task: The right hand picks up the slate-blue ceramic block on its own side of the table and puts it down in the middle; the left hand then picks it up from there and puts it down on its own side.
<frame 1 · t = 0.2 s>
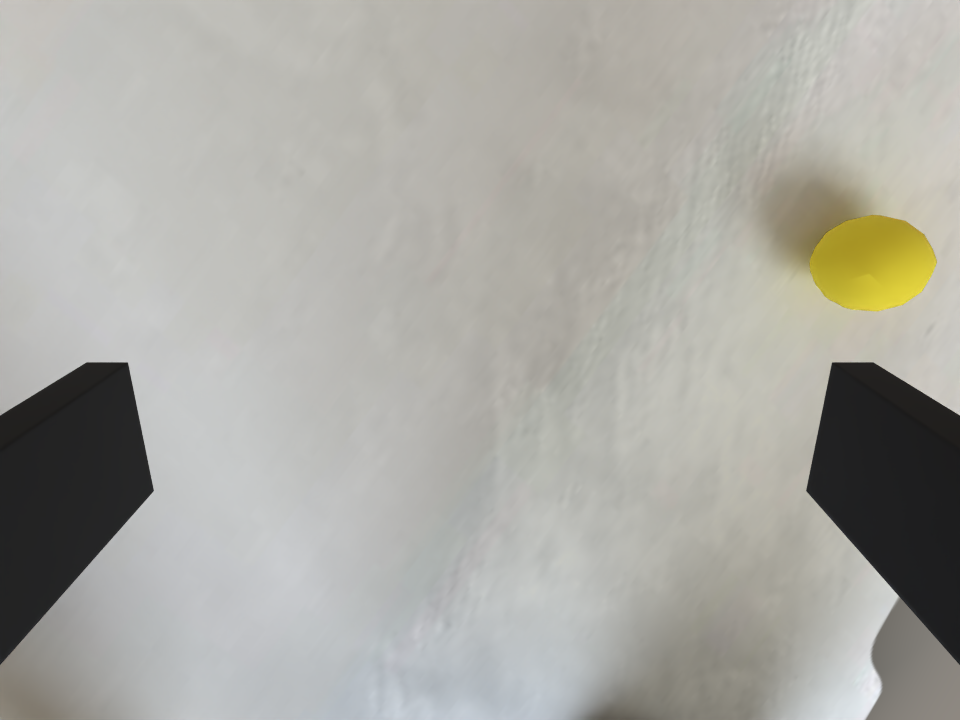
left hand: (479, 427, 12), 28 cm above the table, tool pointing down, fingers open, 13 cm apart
lemon: (845, 253, 39), on the table
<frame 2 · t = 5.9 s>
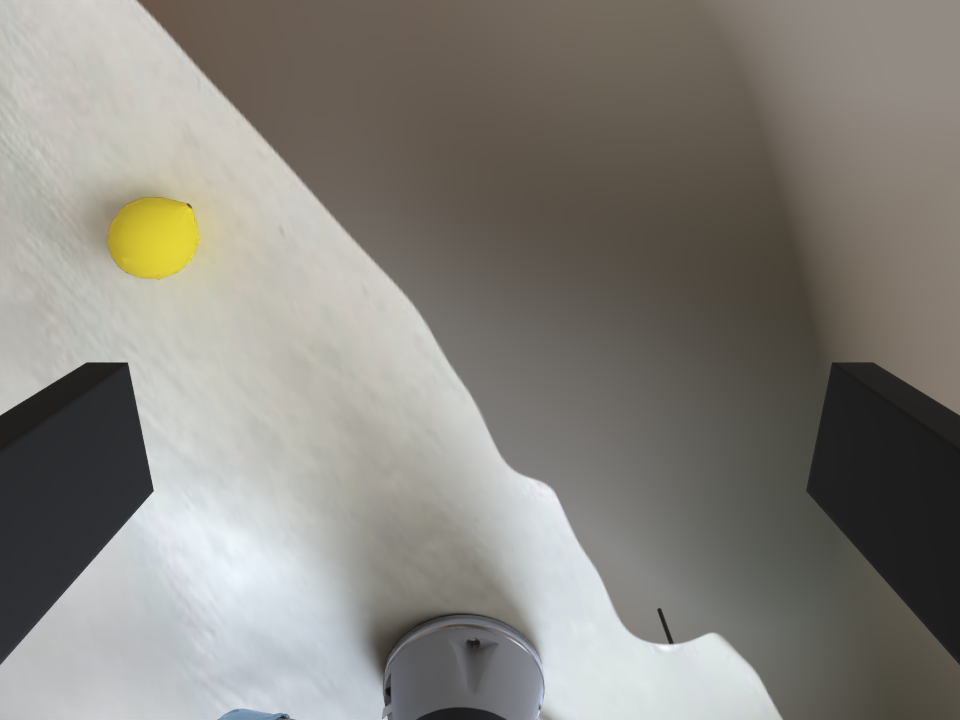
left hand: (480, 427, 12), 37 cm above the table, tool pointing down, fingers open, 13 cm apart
lemon: (173, 230, 48), on the table
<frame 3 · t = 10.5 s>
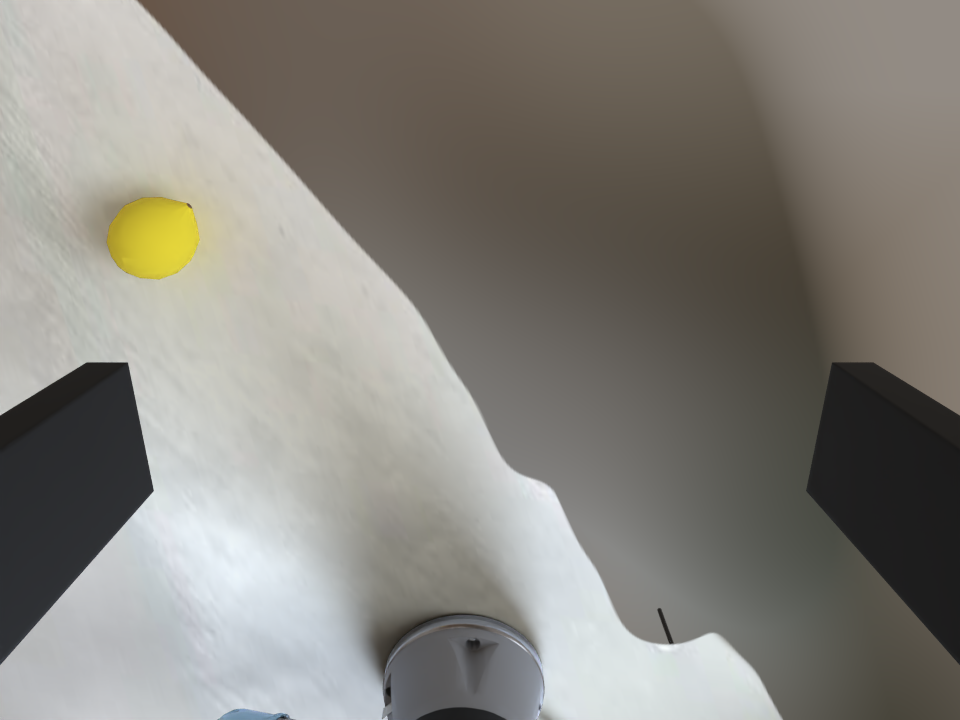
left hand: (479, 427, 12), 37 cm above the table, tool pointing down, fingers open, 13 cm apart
lemon: (173, 230, 48), on the table
when the right hand's fingers open (2 cm above the table, at t = 15.0 s): block stays where it is, on the table.
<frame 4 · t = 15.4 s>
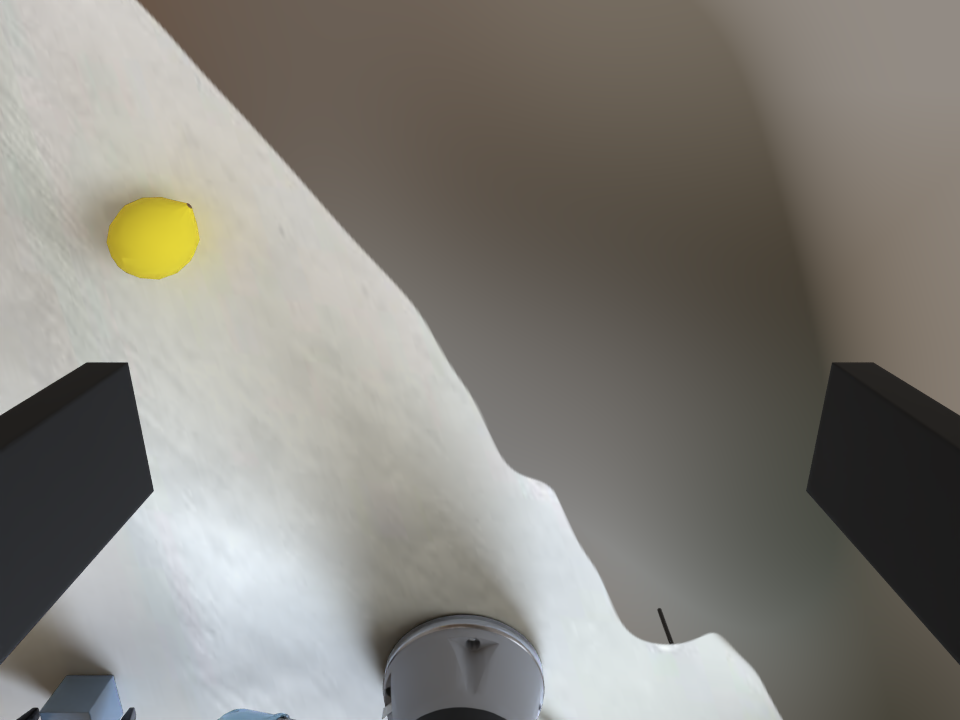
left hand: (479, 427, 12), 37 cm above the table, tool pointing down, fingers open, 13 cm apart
block: (95, 694, 64), on the table
lemon: (173, 230, 48), on the table
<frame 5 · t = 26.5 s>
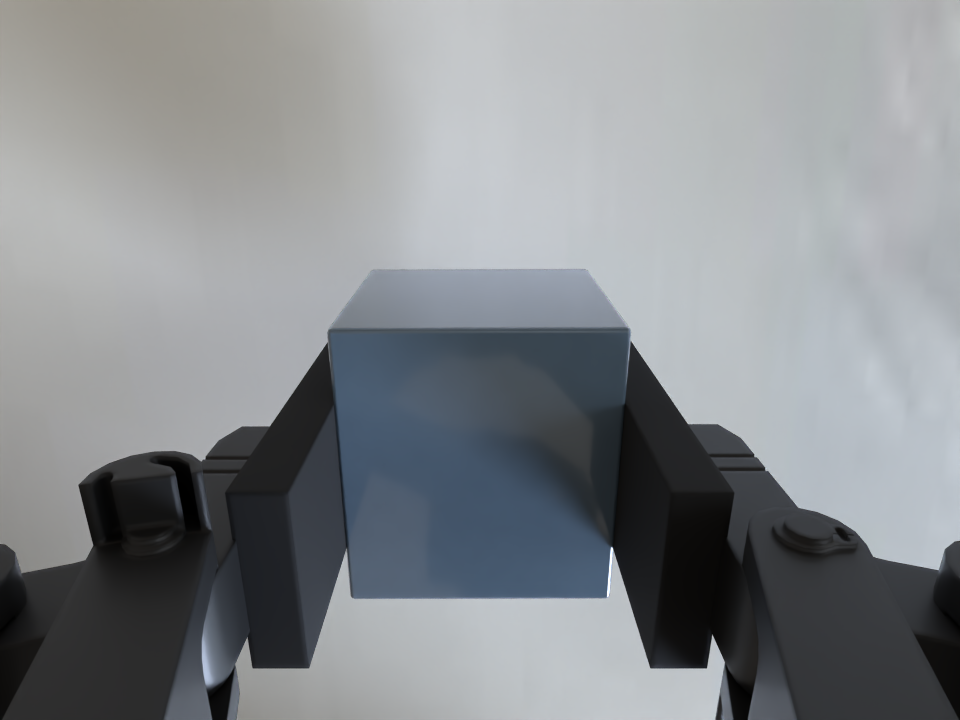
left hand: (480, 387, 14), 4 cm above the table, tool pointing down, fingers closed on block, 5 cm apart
block: (479, 378, 14), point 4 cm above the table, touching left hand
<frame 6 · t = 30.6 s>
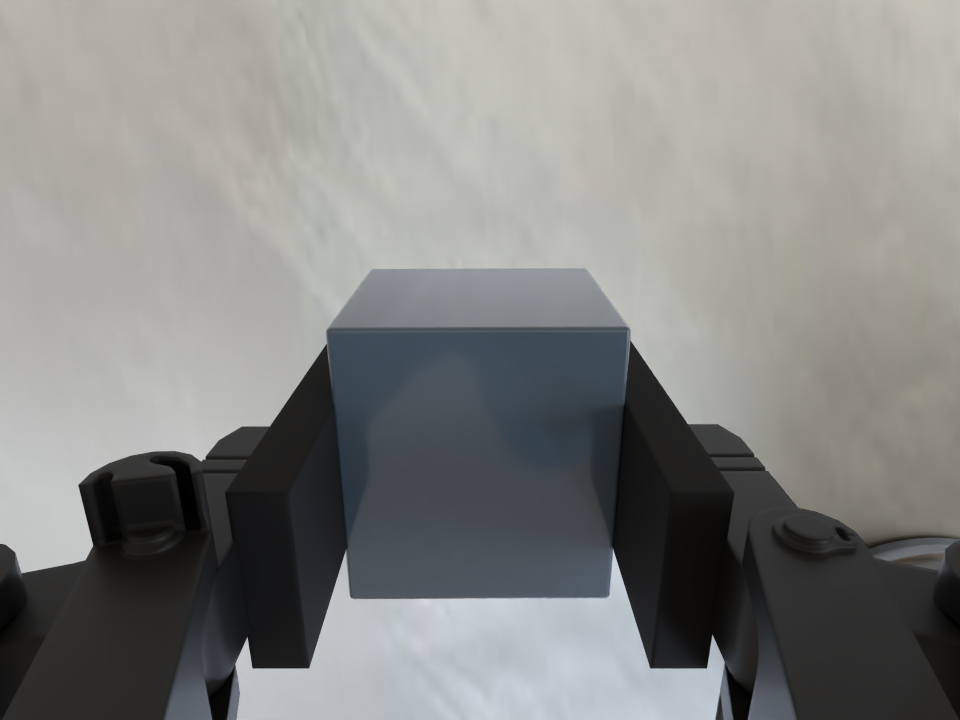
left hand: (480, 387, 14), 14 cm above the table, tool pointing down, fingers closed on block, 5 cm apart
block: (479, 378, 14), point 13 cm above the table, touching left hand
when the left hand's fingers open (0 cm above the table, at t = 34.7 s): block stays where it is, on the table.
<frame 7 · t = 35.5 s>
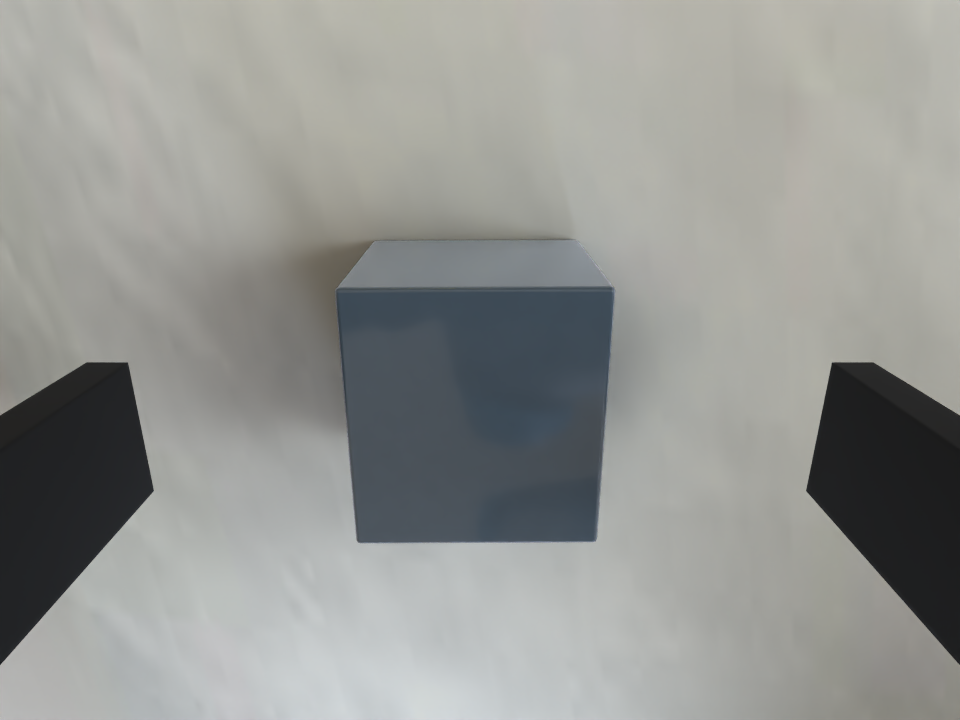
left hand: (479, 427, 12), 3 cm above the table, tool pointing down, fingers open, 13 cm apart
block: (476, 345, 15), on the table
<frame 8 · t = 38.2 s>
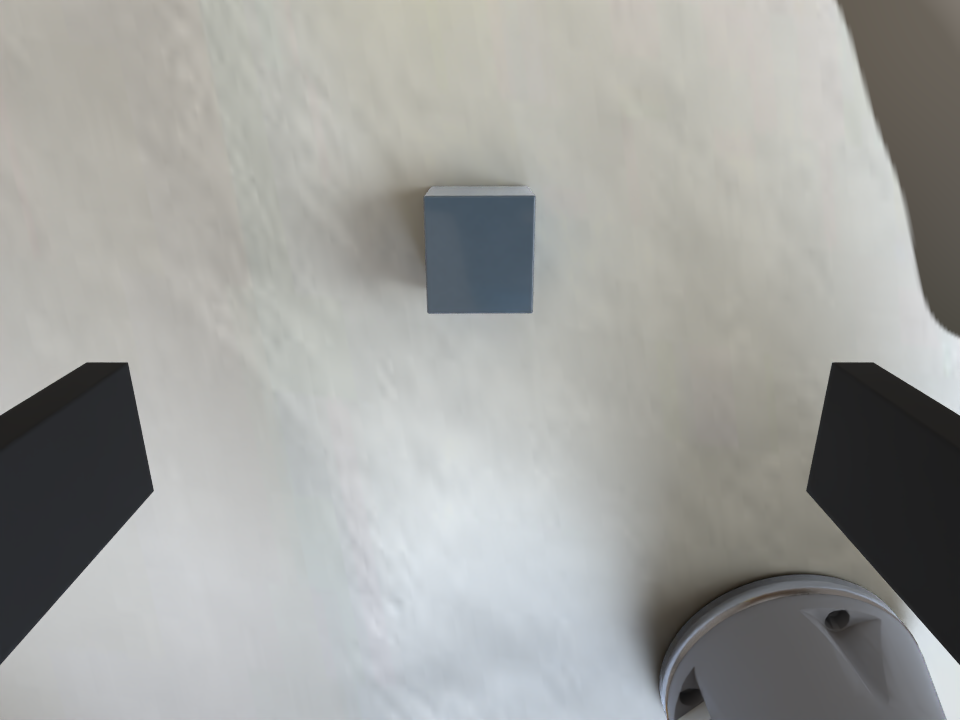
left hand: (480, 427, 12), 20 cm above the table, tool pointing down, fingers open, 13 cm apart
block: (479, 239, 31), on the table
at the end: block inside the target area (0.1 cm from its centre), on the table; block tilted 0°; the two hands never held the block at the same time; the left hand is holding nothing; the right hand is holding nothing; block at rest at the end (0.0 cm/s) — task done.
